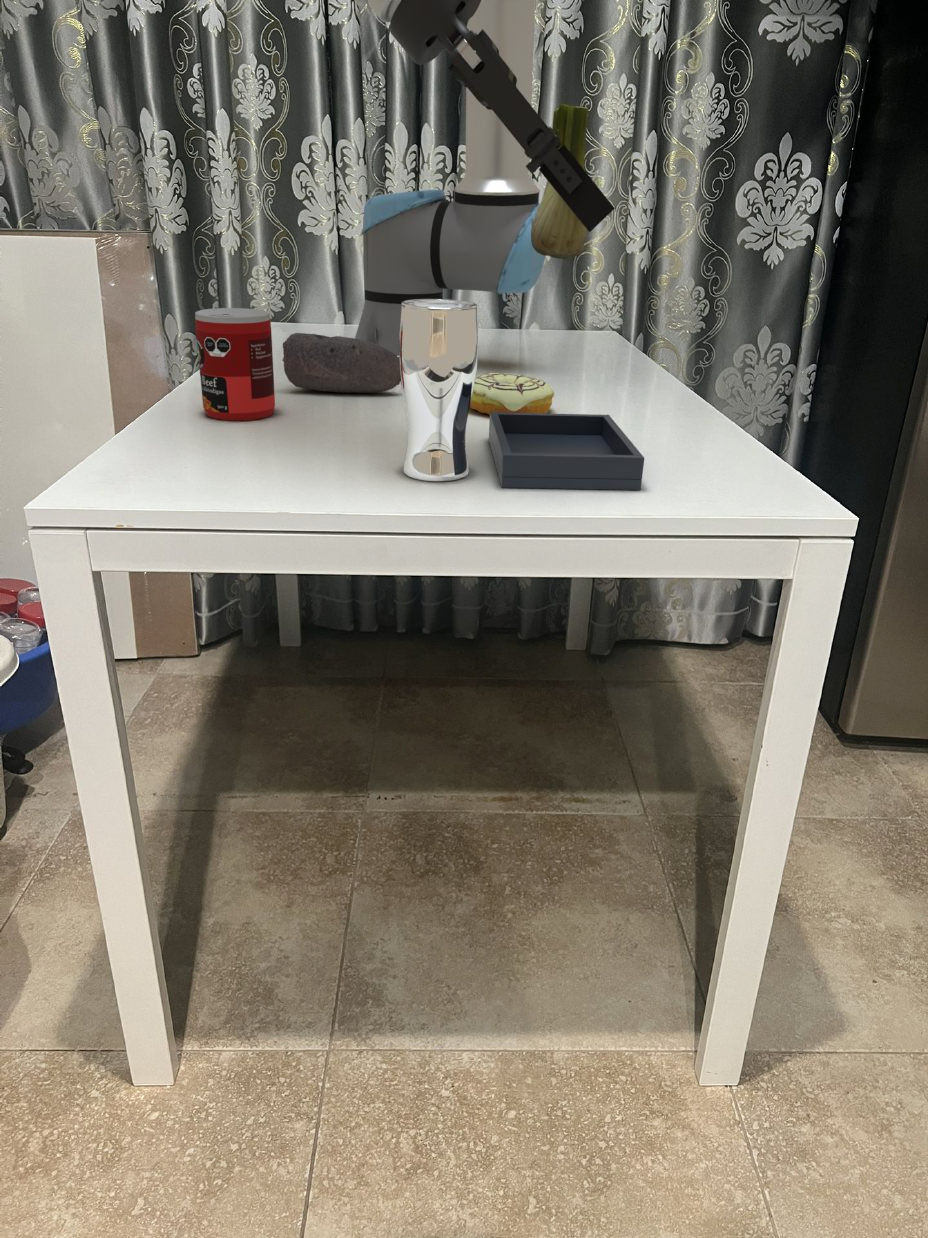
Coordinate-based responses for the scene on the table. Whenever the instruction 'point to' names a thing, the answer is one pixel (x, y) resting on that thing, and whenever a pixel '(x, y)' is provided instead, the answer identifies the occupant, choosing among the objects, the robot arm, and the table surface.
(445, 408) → the beer glass
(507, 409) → the decorated donut
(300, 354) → the perforated stone tool
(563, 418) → the dark grey tray
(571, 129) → the fennel bulb
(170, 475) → the table surface
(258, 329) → the canned food
